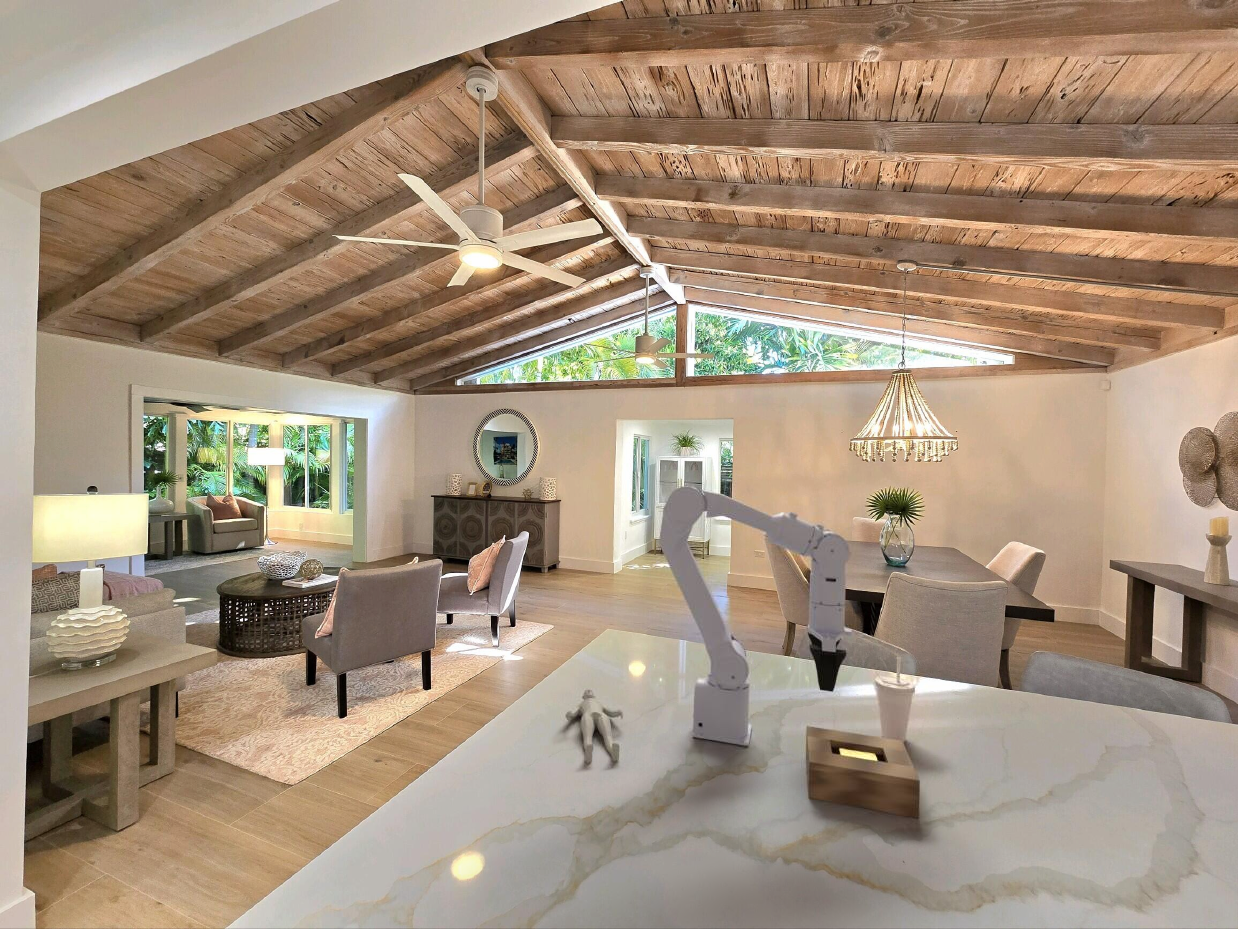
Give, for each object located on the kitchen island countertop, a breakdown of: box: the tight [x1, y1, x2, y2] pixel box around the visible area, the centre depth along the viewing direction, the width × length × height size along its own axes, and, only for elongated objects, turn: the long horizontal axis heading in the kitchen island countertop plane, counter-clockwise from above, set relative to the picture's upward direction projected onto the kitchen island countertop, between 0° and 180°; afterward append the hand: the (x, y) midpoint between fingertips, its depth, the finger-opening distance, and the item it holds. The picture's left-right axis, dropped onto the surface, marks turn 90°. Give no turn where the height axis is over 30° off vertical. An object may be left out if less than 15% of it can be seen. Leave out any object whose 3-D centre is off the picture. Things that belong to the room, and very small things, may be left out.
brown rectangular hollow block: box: [805, 725, 921, 819], centre depth 82 cm, size 14×12×5 cm
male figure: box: [565, 688, 624, 764], centre depth 97 cm, size 10×4×22 cm
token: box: [839, 748, 878, 761], centre depth 82 cm, size 5×2×4 cm, turn 74°
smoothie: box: [874, 657, 916, 743], centre depth 98 cm, size 6×6×14 cm
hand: (824, 682), depth 95 cm, fingers open, 7 cm apart
